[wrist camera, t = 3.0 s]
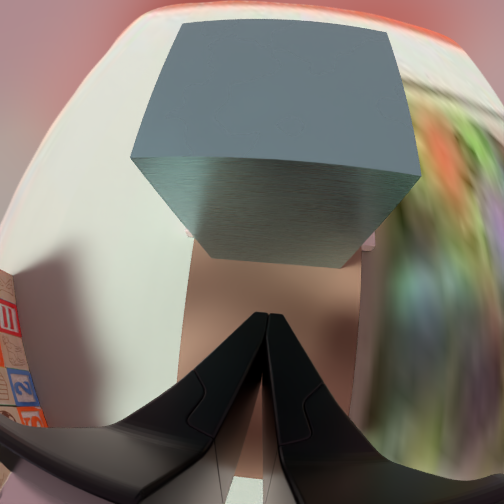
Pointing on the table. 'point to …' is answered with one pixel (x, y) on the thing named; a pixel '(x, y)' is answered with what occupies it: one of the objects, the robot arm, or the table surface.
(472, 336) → the table surface
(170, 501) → the robot arm
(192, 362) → the beam
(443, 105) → the table surface
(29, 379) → the stack of blocks
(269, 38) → the grey rectangular block
